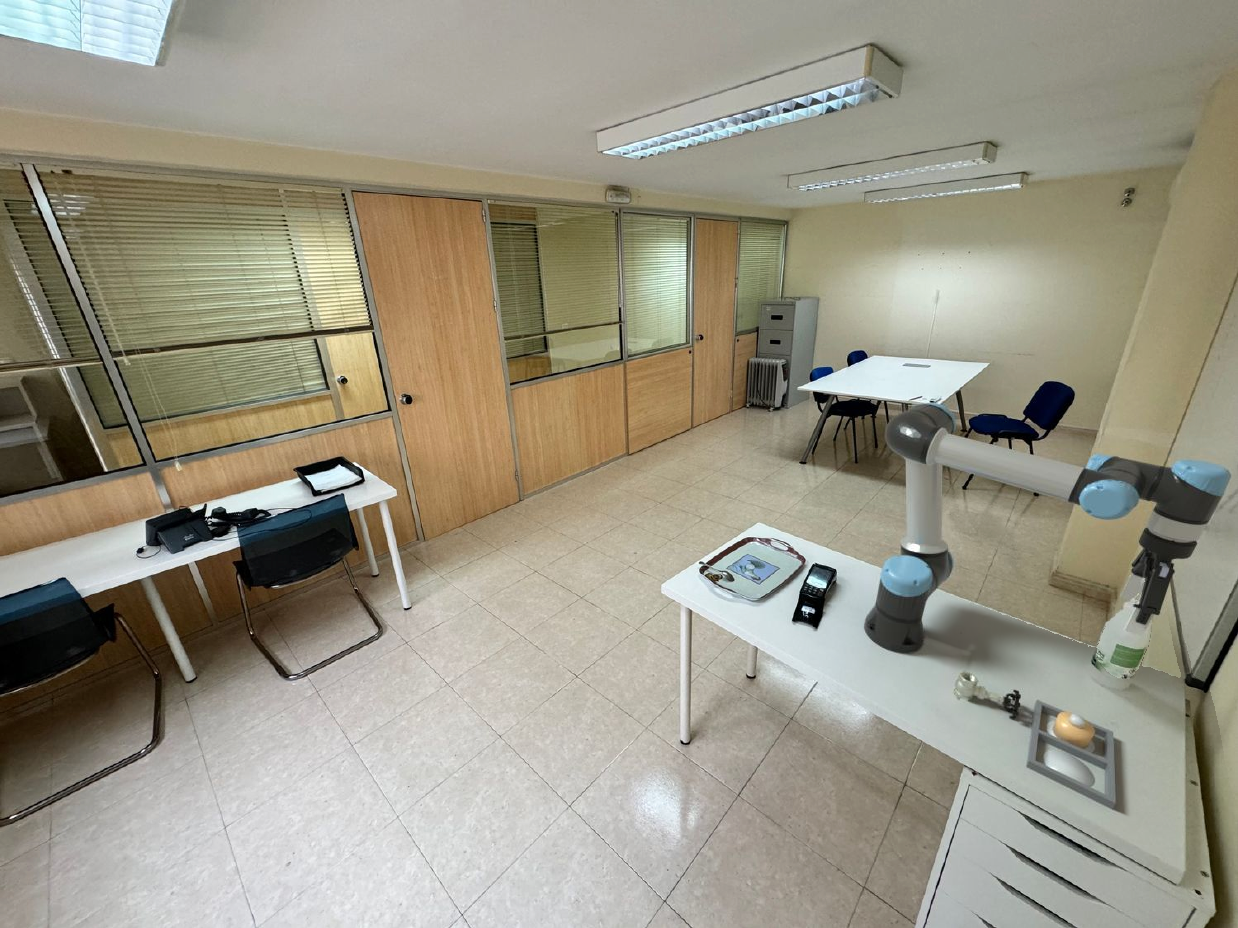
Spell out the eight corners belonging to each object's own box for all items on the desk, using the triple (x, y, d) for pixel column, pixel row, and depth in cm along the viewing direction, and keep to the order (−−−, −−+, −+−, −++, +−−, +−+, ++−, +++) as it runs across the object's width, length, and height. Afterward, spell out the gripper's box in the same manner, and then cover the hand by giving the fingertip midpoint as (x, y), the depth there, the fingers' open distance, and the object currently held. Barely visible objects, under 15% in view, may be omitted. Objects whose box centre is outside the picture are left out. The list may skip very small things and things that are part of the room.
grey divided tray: (1025, 769, 100) (1028, 760, 100) (1033, 707, 114) (1036, 699, 113) (1110, 811, 92) (1115, 803, 91) (1109, 739, 106) (1113, 731, 105)
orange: (1051, 737, 106) (1059, 719, 104) (1053, 719, 110) (1060, 701, 108) (1088, 754, 102) (1097, 736, 100) (1088, 735, 106) (1097, 717, 104)
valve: (951, 702, 116) (1013, 726, 110) (957, 682, 114) (1022, 705, 107) (952, 684, 121) (1012, 705, 115) (958, 664, 119) (1019, 685, 112)
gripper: (1211, 568, 87) (1162, 656, 96) (1187, 515, 104) (1148, 593, 113) (1152, 554, 92) (1110, 639, 100) (1139, 505, 109) (1104, 581, 117)
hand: (1130, 615), depth 106 cm, fingers open, 13 cm apart
